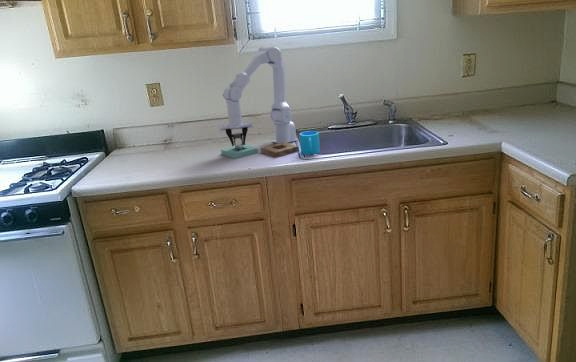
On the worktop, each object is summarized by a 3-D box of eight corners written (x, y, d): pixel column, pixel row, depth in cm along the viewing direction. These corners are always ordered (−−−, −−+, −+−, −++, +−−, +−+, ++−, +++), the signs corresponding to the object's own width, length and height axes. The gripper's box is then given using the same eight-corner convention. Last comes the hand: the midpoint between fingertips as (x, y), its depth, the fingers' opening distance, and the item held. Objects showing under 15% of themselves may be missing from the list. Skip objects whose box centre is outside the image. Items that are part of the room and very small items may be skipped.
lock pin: (241, 149, 204) (238, 132, 202) (247, 150, 201) (244, 133, 198) (233, 152, 202) (230, 134, 199) (238, 153, 198) (235, 136, 196)
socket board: (244, 148, 210) (244, 143, 209) (258, 152, 200) (257, 148, 199) (221, 153, 203) (221, 149, 203) (234, 158, 194) (233, 154, 193)
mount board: (283, 146, 206) (282, 142, 206) (298, 150, 197) (298, 146, 196) (261, 152, 200) (260, 147, 199) (276, 157, 190) (275, 152, 190)
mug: (301, 150, 198) (299, 131, 195) (319, 148, 197) (318, 130, 195) (301, 157, 186) (299, 138, 184) (320, 156, 186) (319, 137, 183)
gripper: (217, 118, 192) (221, 149, 196) (251, 114, 193) (255, 145, 197) (218, 115, 198) (222, 145, 203) (251, 111, 199) (254, 141, 204)
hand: (238, 145), depth 200 cm, fingers closed on lock pin, 4 cm apart
